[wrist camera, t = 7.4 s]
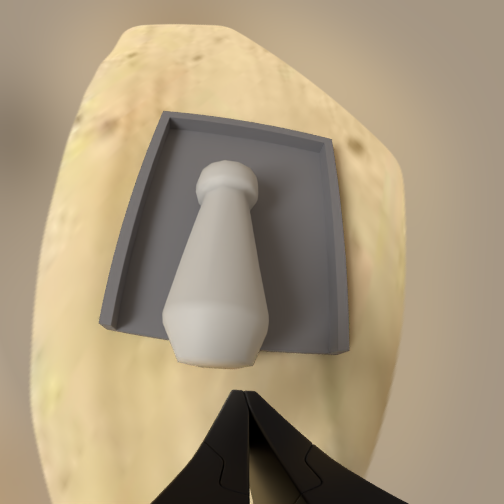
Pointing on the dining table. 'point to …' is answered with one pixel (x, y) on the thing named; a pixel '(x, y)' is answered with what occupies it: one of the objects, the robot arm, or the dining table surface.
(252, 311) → the salt shaker
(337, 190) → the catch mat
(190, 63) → the dining table surface
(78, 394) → the dining table surface
